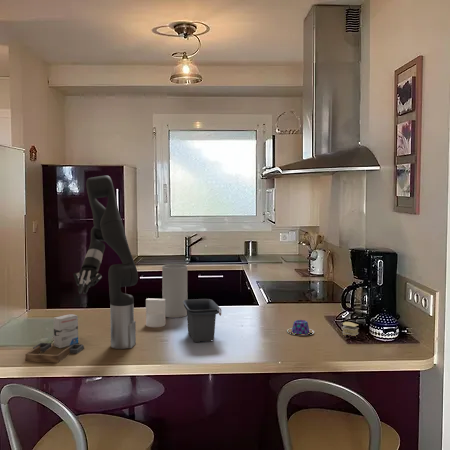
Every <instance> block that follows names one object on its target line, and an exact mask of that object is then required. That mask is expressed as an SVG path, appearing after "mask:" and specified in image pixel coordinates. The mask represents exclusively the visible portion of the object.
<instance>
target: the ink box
mask: <svg viewBox="0 0 450 450" xmlns="http://www.w3.org/2000/svg"><path fill="white" fill-rule="evenodd" d="M78 318H79V316H78V315H76V314H73V313H69V314H64V315H60V316H56V317H55V316H54V317H53V318H52V319H53V323H52V325H53V346H54V347H56V348H59V349H62V348H67V347H70V346H71V345H73V344H79V319H78Z"/></svg>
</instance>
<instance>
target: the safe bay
mask: <svg viewBox="0 0 450 450" xmlns="http://www.w3.org/2000/svg"><path fill="white" fill-rule="evenodd" d="M68 347H69V346H67V347H65V349H63V350H62V351H60V352H59V353H58V354H43V353H41V352H40V346H38V347H36V348H34V349H33V348H32V349H31V350H30V351H28V352H26V353H25V356H24V357H25V358H24V359H25V362H39V363H41V362H43V363H59V362H61V361H62V360H63V359H65V358H66V357H68V356H69V355H70V354H71V353H70V351H69V348H68Z"/></svg>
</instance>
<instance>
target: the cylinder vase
mask: <svg viewBox="0 0 450 450" xmlns="http://www.w3.org/2000/svg"><path fill="white" fill-rule="evenodd" d="M161 268H162V269H161V270H162V271H161V272H162V273H161V275H162V277H161V279H162V280H161V281H162V283H161V285H162V288H161V291H162V298H161V299H165V318H168V319H169V318H170V319H180V318H183V317H187V310H186V308H185V307H184V303H183V301H184V300H188V265H187V264H182V263H181V264H179V263H171V264H169V263H167V264H163V265H162V267H161Z"/></svg>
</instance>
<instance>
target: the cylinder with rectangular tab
mask: <svg viewBox="0 0 450 450" xmlns="http://www.w3.org/2000/svg"><path fill="white" fill-rule="evenodd" d="M165 325H166V317H165V299H162V298H149V297H148V298H147V297H146V299H145V326H146V327H148V328H160V327H161V328H162V327H164V326H165Z"/></svg>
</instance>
